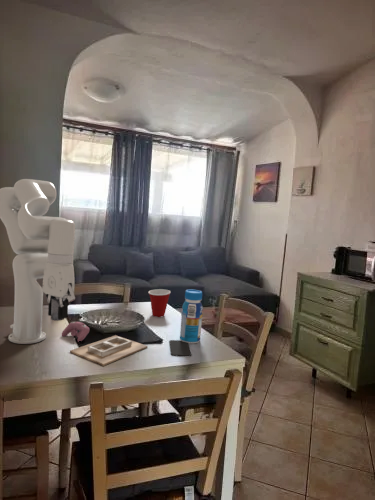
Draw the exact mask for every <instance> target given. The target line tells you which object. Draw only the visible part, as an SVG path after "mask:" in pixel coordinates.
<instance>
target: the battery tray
mask: <svg viewBox="0 0 375 500" xmlns="http://www.w3.org/2000/svg"><path fill="white" fill-rule="evenodd" d="M147 348H148V345H146V344H143V343H141V342H137V341H134V340H131V339H127V338H125V337H122V336H118V335H116V334H115V335H112V336H109V337H106V338H103V339H101V340H98V341H95V342H92V343H88V344H86V345H82V346H80V347H77V348H74V349H70V350H69V352H70V353H71V354H73V355H76V356H78V357H81V358H84V359H85V360H87V361H90V362H93V363H95V364H98V365H100V366H103V367H105V366H106V365H109V364H111V363H114V362H115V361H119V360H122V359H123V358H125V357H126V358H127V357H128V356H131V355H133V354H136V353H138V352H140V351H143V350H145V349H147Z"/></svg>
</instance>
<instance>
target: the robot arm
mask: <svg viewBox="0 0 375 500" xmlns="http://www.w3.org/2000/svg"><path fill="white" fill-rule="evenodd" d="M56 199H57V189H56V186H55V185H54V183H52V182H50V181H47V180H39V179H32V178H23V179H19V180H17V181H16V182H15V183H14V185H13V186H12V187H11V186H5V187H1V188H0V221H1V222H2V224H3V225H4V226H5V229H6V234H7V237H8V240H9V244H10V247H11V249H12V251H13V253H15V254H16V256H15V257H14V258H13V260H12V271H13V272H12V273H13V278H14V280H13V281H14V302H13V303H14V305H13V323H12V324H10V325H9V328H10V329H12V333H10V334H9V335H8V341H9V342H10V343H13V344H20V345H28V344H37V343H39V342H42V341H44V340H45V339H46V338H47V333H46V332H44V331H42V329H43V307H44V306H43V305H44V303H43V302H44V294H45V297H46V299H47V304H48V307H47V309H48V311H47V316H48V317H51V304H52V298H55V297H58V298H59V301H60V306H59V307H58V319H63V318H64V319H67V318H68V311H69V306H70V304H71V303H72V302H73V301H75V300H76V296H75V281H76V280H75V279H76V278H75V269H74V250H75V249H74V248H75V234H76V233H75V231H76V224H75V222H74V221H73V220H71V219H67V218H64V217H60V216H49V215H48V216H45V215H46V214H47V213H48V211H49V209H50V206H51V205H52V204H53V203H54V202H55V201H56ZM40 279H42V286H41V285H40V283H39V282H38V281H37V280H40ZM63 298H65V300H64V301H63ZM64 319H63V320H64Z"/></svg>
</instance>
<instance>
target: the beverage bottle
mask: <svg viewBox="0 0 375 500" xmlns="http://www.w3.org/2000/svg"><path fill="white" fill-rule="evenodd" d="M184 292H185V293H184V299H185V300H184V302H183V303H182V306H181V309H182V311H181V312H180V313H181V314H180V316H181V317H180V330H179V331H180V333H179V340H180V341H183V342H187V343H188V344H197V343H199V342H200V341H201V336H202V335H201V330H202V321H203V317H204V316H203V310H204V309H203V308H204V306H203V305H202V302H201V301H202V300H203V291H202V290H198V289H192V288H191V289H186V290H185V291H184Z"/></svg>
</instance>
